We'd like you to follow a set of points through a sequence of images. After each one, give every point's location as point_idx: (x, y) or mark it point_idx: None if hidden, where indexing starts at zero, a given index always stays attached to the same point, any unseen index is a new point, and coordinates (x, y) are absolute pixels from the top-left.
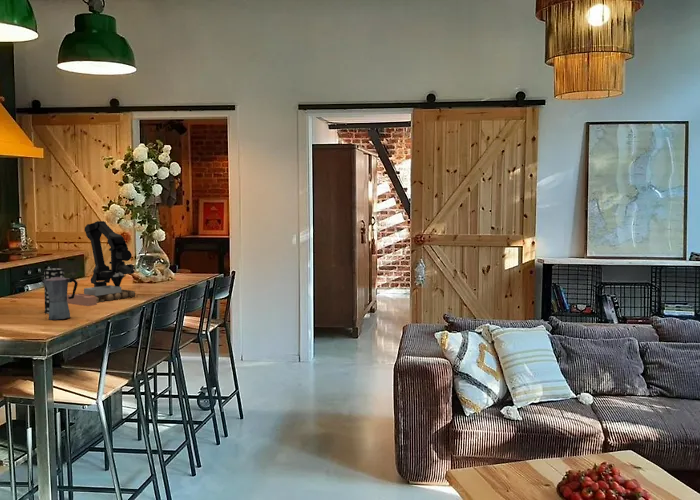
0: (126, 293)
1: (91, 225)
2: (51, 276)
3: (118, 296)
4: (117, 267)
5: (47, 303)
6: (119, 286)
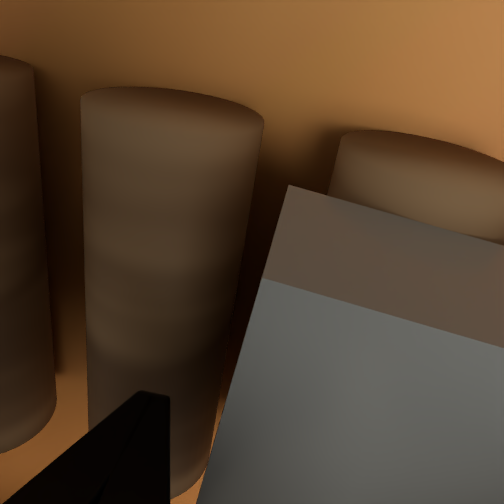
0: (131, 112)
1: None
2: None
3: (433, 155)
4: None
5: None
6: (236, 377)
